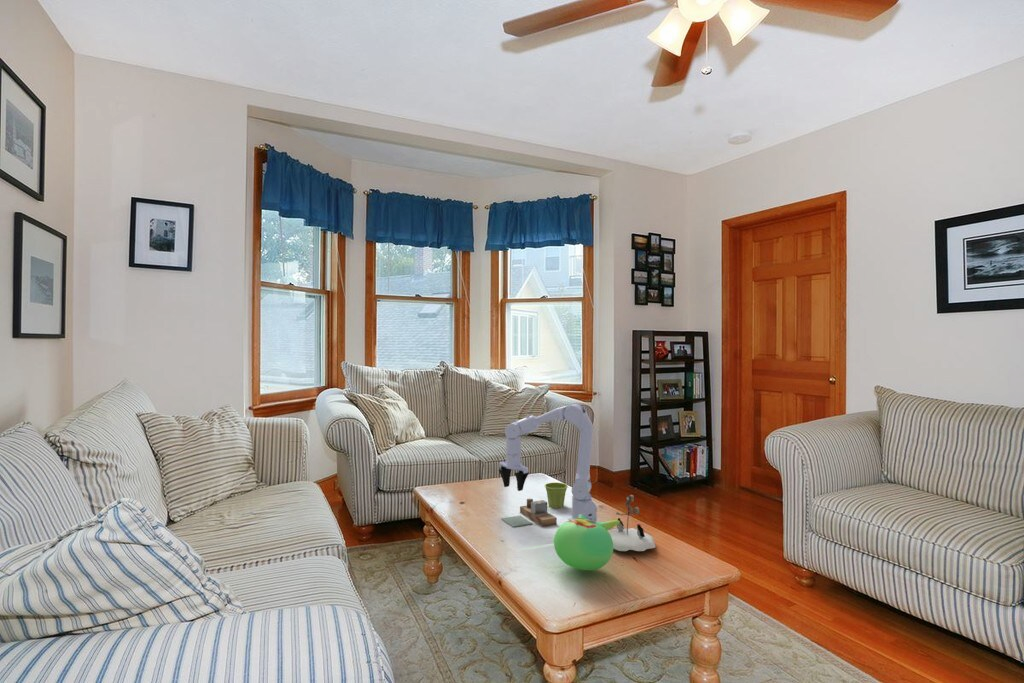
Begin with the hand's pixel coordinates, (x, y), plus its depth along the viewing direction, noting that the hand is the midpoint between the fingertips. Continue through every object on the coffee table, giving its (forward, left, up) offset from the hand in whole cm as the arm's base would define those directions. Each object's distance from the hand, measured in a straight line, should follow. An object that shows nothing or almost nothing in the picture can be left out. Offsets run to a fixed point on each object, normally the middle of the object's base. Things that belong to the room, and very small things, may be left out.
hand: (513, 488), depth 208 cm
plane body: (-9, -6, -10) cm, 15 cm away
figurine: (-43, -21, -10) cm, 49 cm away
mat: (-9, +3, -10) cm, 14 cm away
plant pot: (+1, -20, -10) cm, 22 cm away
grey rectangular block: (-10, -6, -7) cm, 14 cm away
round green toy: (-54, +3, -10) cm, 55 cm away
